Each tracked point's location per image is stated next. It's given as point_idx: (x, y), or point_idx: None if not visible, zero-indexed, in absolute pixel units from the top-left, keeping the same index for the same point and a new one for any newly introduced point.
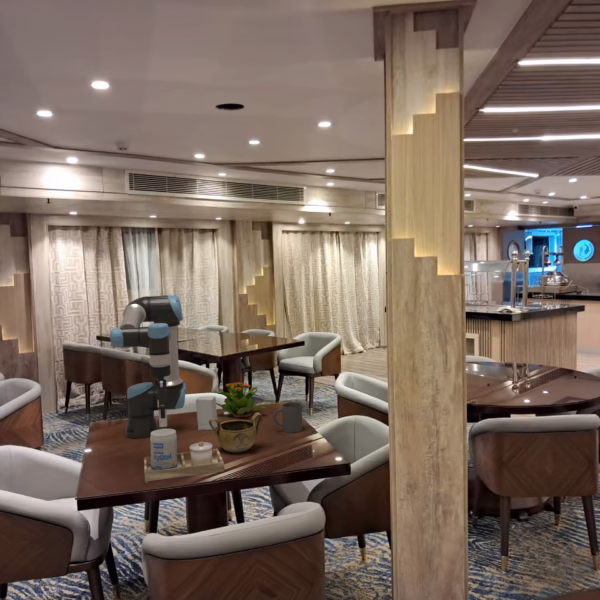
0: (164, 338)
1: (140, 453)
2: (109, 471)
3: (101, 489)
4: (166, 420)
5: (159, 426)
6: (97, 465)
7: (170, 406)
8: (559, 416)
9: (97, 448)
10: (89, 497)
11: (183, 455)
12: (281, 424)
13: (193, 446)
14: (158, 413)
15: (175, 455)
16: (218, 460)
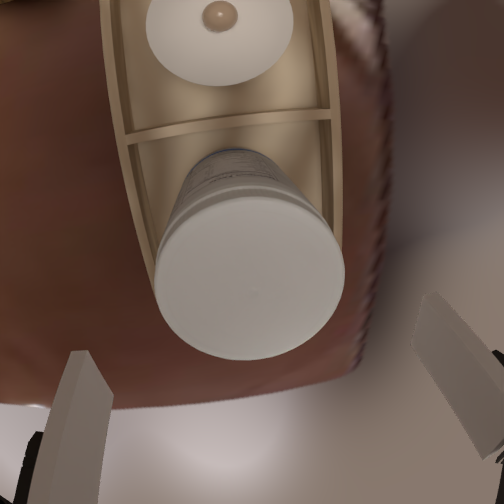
0: None
1: (30, 305)
2: (184, 364)
3: (322, 353)
4: (465, 327)
5: (411, 345)
6: (133, 392)
7: None
8: None
9: (22, 396)
10: (360, 361)
11: (128, 130)
12: None
13: (218, 62)
14: (108, 418)
15: (267, 163)
16: None
